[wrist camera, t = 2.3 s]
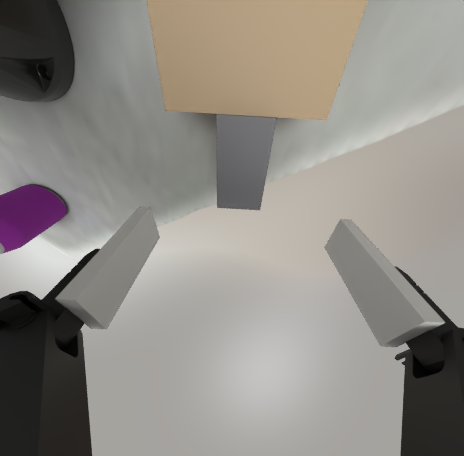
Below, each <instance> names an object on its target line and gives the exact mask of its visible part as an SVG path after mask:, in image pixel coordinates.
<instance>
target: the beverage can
mask: <svg viewBox="0 0 464 456" xmlns="http://www.w3.org/2000/svg"><path fill="white" fill-rule="evenodd" d="M66 213H67V209H66V205H65V203H64V201H63V200H62V199H61V198H60V197H59V196H58V195H57V194H55V193H54V192H52V191H51V190H48V189H46V188H43V187H40V186H36V185H25V186H22V187H19V188H17V189H15V190H12V191H10V192H7V193H5V194H3V195H0V254H2V253H5V252H8V251H11V250H14V249H17V248H20V247H22V246H23V245H25V244H26V243H28V242H29V241H30V240H32V239H33V238H35V237H36V236H38V235H39V234H41V233H42V232H43V231H45V230H46V229H48V228H49V227H51V226H52V225H53V224H55V223H56V222H58V221H59V220H61V219H62V218H63V217H64V216H65V215H66Z"/></svg>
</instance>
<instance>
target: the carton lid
mask: <svg viewBox="0 0 464 456" xmlns="http://www.w3.org/2000/svg"><path fill="white" fill-rule="evenodd" d="M367 2H368V0H147V5H148V11H149V17H150V23H151V29H152V35H153V41H154V47H155V53H156V59H157V64H158V70H159V76H160V82H161V88H162V94H163V100H164V106H165V111H178V112H194V113H211V114H217V115H216V129H217V207H218V208H232V209H250V210H260V207H261V202H262V195H263V190H264V185H265V179H266V174H267V168H268V163H269V157H270V152H271V146H272V141H273V135H274V130H275V124H276V119H277V118H275V117H278V118H295V119H311V120H327V118H328V115H329V112H330V109H331V106H332V103H333V101H334V98H335V95H336V92H337V89H338V86H339V83H340V80H341V77H342V74H343V71H344V68H345V66H346V63H347V60H348V57H349V54H350V51H351V48H352V45H353V42H354V39H355V36H356V34H357V31H358V28H359V25H360V22H361V19H362V16H363V13H364V10H365V7H366V4H367Z"/></svg>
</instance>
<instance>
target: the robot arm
mask: <svg viewBox="0 0 464 456" xmlns="http://www.w3.org/2000/svg"><path fill="white" fill-rule="evenodd" d="M73 71H74V59H73V50H72V45H71V40H70V36H69V33H68V29H67V26H66V23H65V20H64V18H63V15H62V13H61V10H60V8H59V6H58V4H57V1H56V0H0V95H2V96H5V97H9V98H12V99H16V100H22V101H51V100H55V99H57V98H59V97H61V96H62V95H63V94H64V93H65V92H66V91H67V90H68V88H69V86H70V84H71V81H72V77H73ZM159 238H160V237H159V233H158V230H157V227H156V223H155V220H154V217H153V214H152V210H151V208H150V207H139V208H138V209H137V210H136V211H135V212H134V214H133V215H132V216H131V217H130V218H129V219H128V220H127V221H126V222H125V223H124V224H123V225H122V227H121V228H120V229H119V230H118V231H117V232H116V233H115V234H114V235H113V236H112V237H111V238H110V240H109V241H108V242H107V243H106V244H105V245H104V246H103V247H102V248H101V249H95V250H93V251H92V252H90V253H89V254H87V255H85V256H84V257H83V259H82V260H81V261H80V262H79V263H78V265H76V266H75V267H74V268H73V269H72V270H71V272H69V273H68V274H67V275H66V276H65V277H64V278H63V279H62V280H61V281H60V282H59V283H58V284H57V285H56V286H55V287H54V288H53V289H52V290H51V291H50V292H49V293H48V294H47V295H46V296H45V297H44V298H43V299H42V300H40V299H39V298H38V297H36V296H35V295H34V294H32V293H30V292H28V291H19V292H16V293H12V294H9V295H7V296H5V297H3V298H1V299H0V456H92V448H91V436H90V423H89V411H88V398H87V385H86V373H85V361H84V348H83V337H82V332H81V330H80V329H81V328H82V326H83V325H84V323H85V324H86V325H87V326H88V327H90V328H92V329H93V328H94V329H107V328H108V326H109V324H110V323H111V321H112V319H113V317H114V316H115V314H116V312H117V311H118V309H119V307H120V305H121V303H122V302H123V300H124V298H125V297H126V295H127V293H128V291H129V290H130V288H131V286H132V284H133V283H134V281H135V279H136V278H137V276H138V274H139V272H140V271H141V269H142V267H143V265H144V264H145V262H146V260H147V259H148V257H149V255H150V253H151V251H152V250H153V248H154V246H155V245H156V243H157V241H158V239H159ZM325 249H326V251H327V253H328V254H329V256H330V258H331V260H332V261H333V263H334V265H335V267H336V268H337V270H338V272H339V274H340V275H341V277H342V279H343V281H344V283H345V284H346V286H347V288H348V289H349V291H350V293H351V295H352V297H353V299H354V300H355V302H356V304H357V306H358V308H359V309H360V311H361V313H362V315H363V316H364V318H365V320H366V322H367V323H368V325H369V327H370V328H371V330H372V332H373V334H374V336H375V337H376V339H377V341H378V343H379V345H380V346H386V347H398V346H400V345H402V344H404V343H406V344H407V345H408V347H409V348H410V349H409V350H406V351H404V352H402V353H400V354H397V355H396V357H395V359H396V360H400V359H402V358H404V357H405V361H404V362H402V364H403V365H405V377H404V397H403V417H402V439H401V456H464V328H458V327H457V326H456V325H455V324H454V323H453V322H452V321H451V320H450V319H449V318H448V317H447V316H446V315H445V314H444V312H443V311H442V310H441V309H440V308H439V307H438V306H437V305H436V304H435V303H434V302H433V301H432V300H431V299H430V298H429V297H428V296H427V295H426V294H425V293H423V292H424V291H423V290H422V289H421V288H420V287H419V286H417V285H416V283H415V282H414V281H413V280H412V279H411V278H410V277H409V276H408V275H407V274H406V273H404V272H403V271H402V270H400V269H399V268H398V267H394V266H393V265H392V264H391V263H390V262H389V260H388V259H387V258H386V257H385V256H384V255H383V254H382V253H381V252H380V250H379V249H378V248H376V246H375V245H374V244H373V243H372V242H371V241H370V240H369V238H368V237H367V236H366V235H365V234H364V233H363V232H362V231H361V230H360V229H359V227H358V226H357V225H356V224H355V223H354V222H353V221H352V220H348V219H340V221H339V222H338V224H337V226H336V228H335V230H334V232H333V233H332V235H331V237H330V238H329V240H328V243H327V244H326V246H325Z"/></svg>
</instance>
